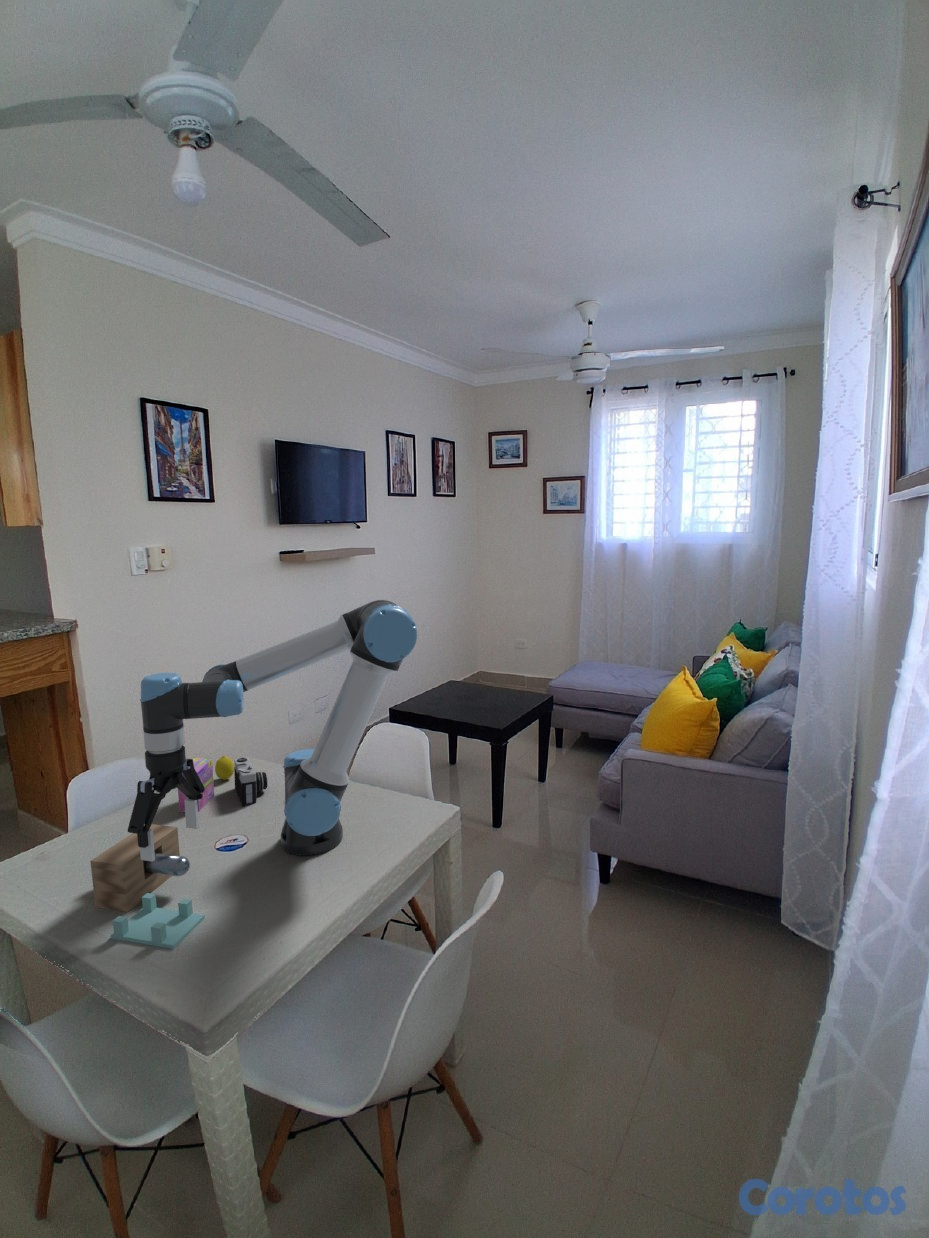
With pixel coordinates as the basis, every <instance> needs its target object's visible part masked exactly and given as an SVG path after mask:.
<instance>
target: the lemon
mask: <svg viewBox="0 0 929 1238" xmlns="http://www.w3.org/2000/svg"><path fill="white" fill-rule="evenodd" d="M234 767H235V762H234V761H233V759H232V758H230V757H229V756H225V755H223V756H221V757H220V758H218V760H217V761H216V763H215V766H214V772H215V775H216V777H218V778H219V779H220V780H223V781H227V780H228V779H230V778H231V777H232V776H233V775H234V774H235V773H234Z"/></svg>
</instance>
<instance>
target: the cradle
mask: <svg viewBox="0 0 929 1238" xmlns="http://www.w3.org/2000/svg"><path fill="white" fill-rule="evenodd" d="M141 902H142V903H141V904H142V908H140V909H139V910H138V911H137V912H136V913H135V914H134V915H132V916H131V917H130V918H128V917H127V916H123V915H122V916H121V915H118V916H117V917H115V918H114V919H112V929H113V932H111V934H110V939H112V940H119V941H124V942H131V943H136V944H141V945H147V946H154V947H161V948H166V949H170V950H171V949H172V950H175V949H176V948H177V947H178V946H179V945H180V944H181V943H182V942H183V941H184V940H185V939H186V938H187V937H188V936H189V935H190V934H191V933H192V932H193V931H194V930H195V929H196V928H197V927H198V926H199V925H200V924H201V923H202V922H203V921H204V920H205V919H206V916H205V914H201V913H194V912H193V900H192V899H191V898H190V899H189V898H185V897H184V898H181V899H180V900H179V901H178V902H177V905H178V906H177V907H178V910H174V909H167V908H161V907H157V896H156V893H146V894H145V895H144V896H143V897H142V901H141Z"/></svg>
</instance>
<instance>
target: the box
mask: <svg viewBox="0 0 929 1238" xmlns="http://www.w3.org/2000/svg"><path fill="white" fill-rule="evenodd" d="M192 759H193V763H194V768H195V770H196V772H197V774H198V776H199V778H200V780H201V782H202V784H203V786H204V788H205V791H204V792H203V793H200V794H203V797H202V799H198V805H199V810H198V813H199V812H201V810H202V809H203V808H204V807H205V806H206V805H207V804H208V803H209V802H211V800H212V799H213V798H214V797H215V785H214V783H215V782H214V770H213V769H214V768H213V758H211V757H209V758H205V757H204V758H203V757H202V758H201V757H198V758H197V757H196V758H195V757H194V758H192ZM182 776H183V777H184V778H185V776H184V774H183V772H182ZM185 779H186V778H185ZM177 796H178V810H179V813H185V801H184V800H186V799H189V798H187V797H186V796H185V795H184V794H183V793H182V792H181V791H180V790H179V789H178V788H177Z"/></svg>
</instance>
